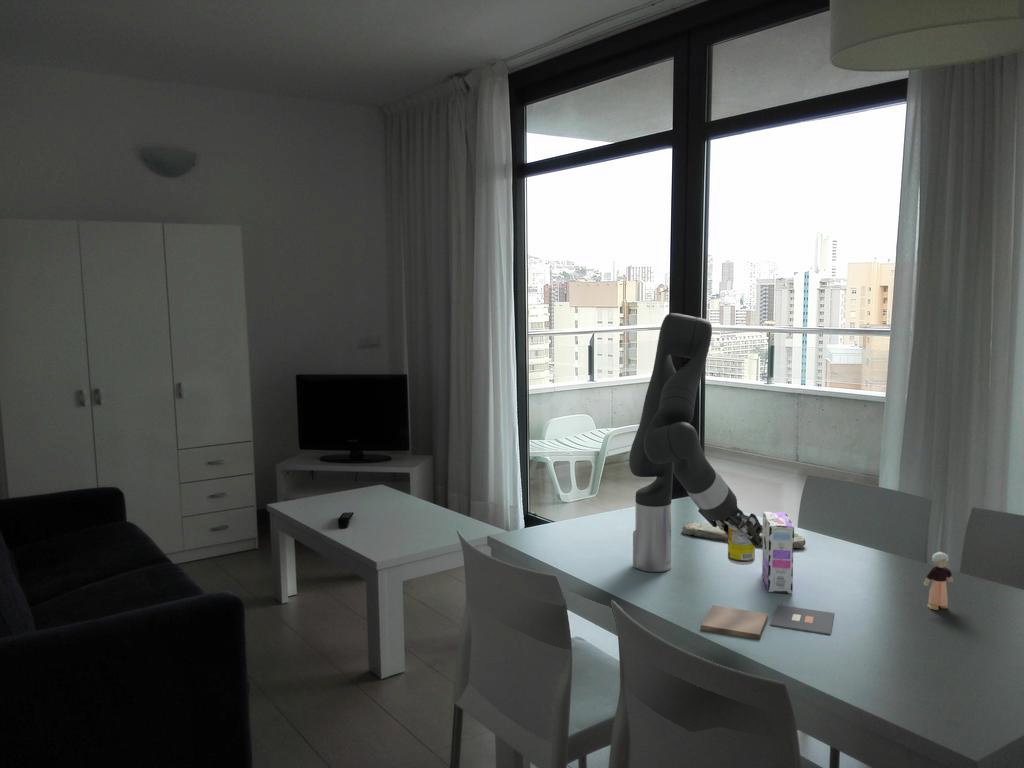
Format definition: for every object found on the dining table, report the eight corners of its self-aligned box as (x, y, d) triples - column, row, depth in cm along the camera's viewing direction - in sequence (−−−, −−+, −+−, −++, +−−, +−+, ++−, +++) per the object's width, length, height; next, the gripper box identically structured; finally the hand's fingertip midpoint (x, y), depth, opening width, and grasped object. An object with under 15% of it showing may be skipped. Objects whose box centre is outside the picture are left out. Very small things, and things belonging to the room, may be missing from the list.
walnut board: (700, 629, 168) (700, 625, 168) (712, 609, 178) (712, 605, 178) (759, 639, 162) (759, 634, 162) (767, 618, 173) (767, 613, 173)
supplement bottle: (734, 555, 173) (735, 509, 172) (758, 560, 170) (759, 514, 169) (723, 562, 169) (724, 515, 168) (748, 567, 165) (749, 519, 164)
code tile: (770, 625, 169) (770, 624, 169) (777, 605, 180) (777, 604, 180) (830, 635, 164) (830, 633, 164) (834, 614, 175) (834, 612, 175)
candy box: (793, 594, 187) (795, 526, 185) (767, 593, 188) (768, 525, 186) (785, 574, 200) (786, 511, 199) (761, 573, 202) (762, 510, 200)
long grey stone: (688, 532, 243) (678, 543, 235) (687, 516, 243) (677, 526, 234) (808, 542, 226) (802, 553, 217) (807, 524, 225) (801, 535, 217)
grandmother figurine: (935, 612, 175) (938, 557, 174) (919, 607, 178) (922, 552, 177) (957, 606, 178) (960, 551, 177) (941, 600, 182) (943, 547, 181)
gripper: (747, 485, 157) (783, 533, 165) (692, 473, 169) (728, 518, 177) (729, 515, 155) (766, 563, 163) (675, 501, 166) (712, 546, 174)
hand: (746, 539), depth 170 cm, fingers closed on supplement bottle, 5 cm apart
